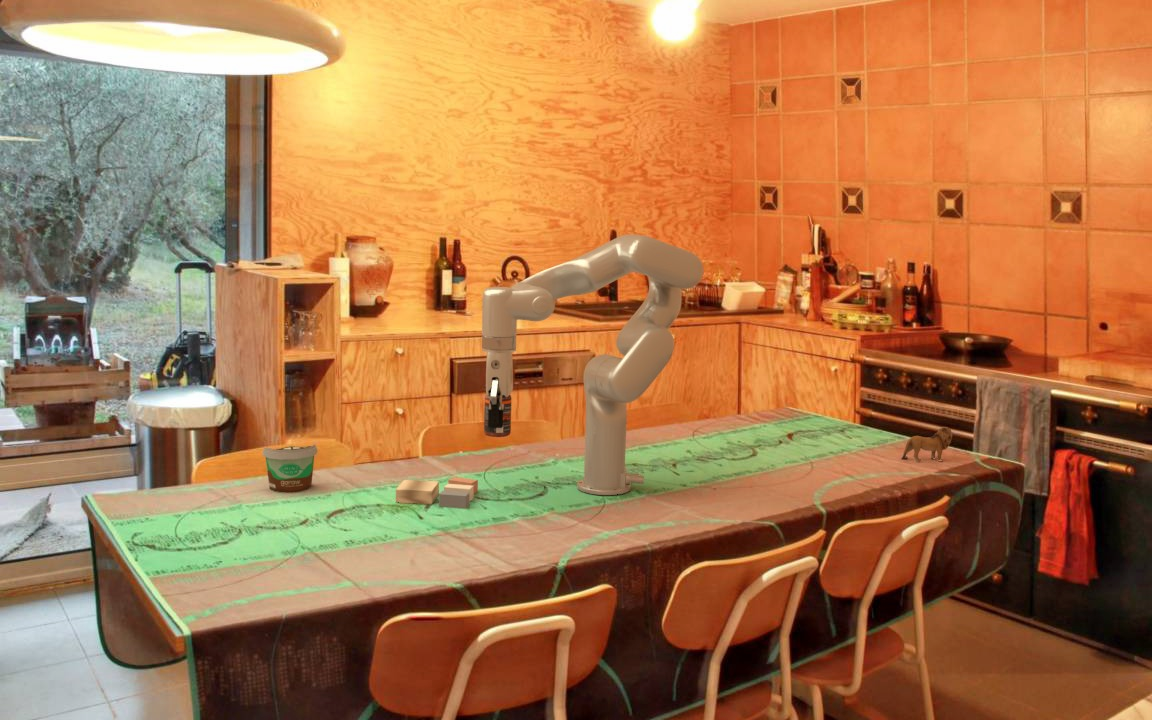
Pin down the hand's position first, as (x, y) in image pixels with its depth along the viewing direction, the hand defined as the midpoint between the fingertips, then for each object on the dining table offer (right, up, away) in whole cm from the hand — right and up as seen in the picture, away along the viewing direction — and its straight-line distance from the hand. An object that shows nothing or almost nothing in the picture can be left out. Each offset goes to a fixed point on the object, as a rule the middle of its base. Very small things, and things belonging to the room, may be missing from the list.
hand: (497, 423), depth 234 cm
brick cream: (-9, -17, +3) cm, 20 cm away
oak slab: (-18, -17, +2) cm, 25 cm away
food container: (-47, -16, +6) cm, 50 cm away
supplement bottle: (0, -3, 0) cm, 3 cm away
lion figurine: (+112, -13, +51) cm, 124 cm away
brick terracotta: (-9, -16, +8) cm, 20 cm away
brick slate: (-9, -18, -3) cm, 20 cm away
